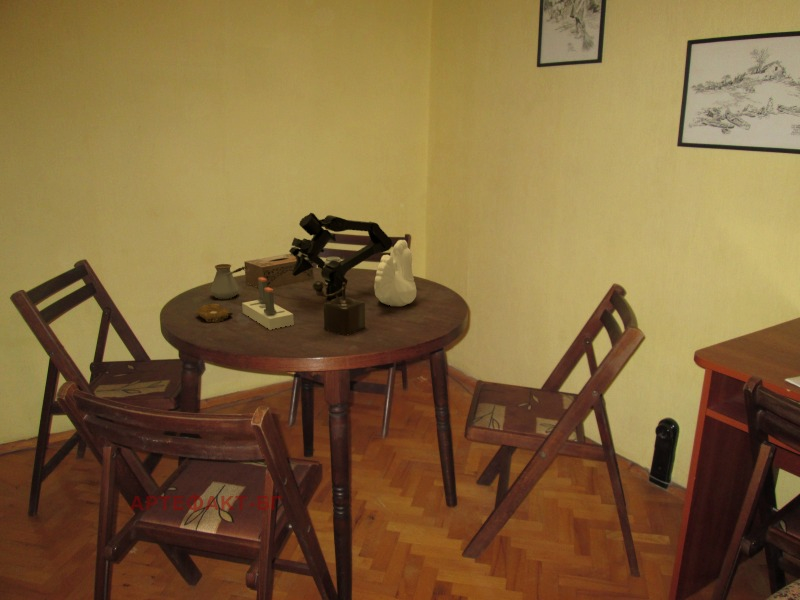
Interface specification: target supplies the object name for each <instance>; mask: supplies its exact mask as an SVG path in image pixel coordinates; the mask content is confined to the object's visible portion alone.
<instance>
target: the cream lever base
mask: <svg viewBox="0 0 800 600" xmlns="http://www.w3.org/2000/svg"><path fill="white" fill-rule="evenodd" d="M241 305H242V307H241V308H242V314H244V315H245V316H247V317H248V316H249V317H248V318H250V319H252V320H253V321H255V322H256V321H257V322H256V323H258V324H259V323H260V325H262V326H263V327H265V328H266V329H267V328H268V330H269V331H272V329H273V330H276V329H275V328H277V329H281V328H280V327H282V328H286V327H285V326H287V327H291V326H294V325H295V324H294V313H292V312H290V311H288V310H286V309H285V308H283V307H281V306H279V305H278V304H276V303H274V310H276V314H271V315H268V314H266V313H264V310H265V309H266V306H265V303H261V302H259V301H258V299H256V300H251V301H246V302H245V301H244V302H242V303H241ZM290 325H291V326H290Z"/></svg>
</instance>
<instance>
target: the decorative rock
mask: <svg viewBox="0 0 800 600" xmlns="http://www.w3.org/2000/svg"><path fill="white" fill-rule="evenodd" d="M195 314H197V315H198V316H199V317H200V318H202V319H203V320H205V321H206V322H207V323H216V324H217V323H220V322H224V320H226V319H228V318H229V316H233V312H232V311H231V310H230V309H228V308H226V307H223V306H220V305H219V304H218V303H210V304H205V305H200V307H199V308H198V310H196V311H195Z"/></svg>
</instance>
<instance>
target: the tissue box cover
mask: <svg viewBox="0 0 800 600" xmlns="http://www.w3.org/2000/svg"><path fill="white" fill-rule="evenodd" d="M296 261H297V260H296V257H295V256H294V255H293V254H291V253H286V254H281V255H280V254H279V255H274V256H268V257H263V258H257V259H251V260H246V261H245V260H244V263H243V264H244V266H247V268H245V269H244V270H245V271H244V273H245V274H244V275H245V277H244V278H245V284H247V283H249V284H251V285H250V286H252V285H254V286H253V287H255V286H257V287H259V283H258V278H261V277H263V278H265V279H267V287H269V288H271V289H274V288H273V287H275V288H278V287H277V286H279V287H283V286H282V285H284V286H288V284H289V285H293V284H297V283H302V282H308V281H312V280H314V267H313V268H310V269H308V270H306V271H304V272H302V273H300V274H298V275H296V276H294V275H292V273H293V270H294V268H295V265H296ZM248 270H249V271H248ZM249 284H248V285H249ZM257 287H256V288H257Z"/></svg>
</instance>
